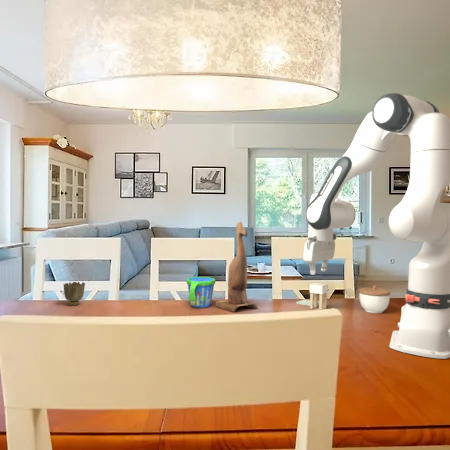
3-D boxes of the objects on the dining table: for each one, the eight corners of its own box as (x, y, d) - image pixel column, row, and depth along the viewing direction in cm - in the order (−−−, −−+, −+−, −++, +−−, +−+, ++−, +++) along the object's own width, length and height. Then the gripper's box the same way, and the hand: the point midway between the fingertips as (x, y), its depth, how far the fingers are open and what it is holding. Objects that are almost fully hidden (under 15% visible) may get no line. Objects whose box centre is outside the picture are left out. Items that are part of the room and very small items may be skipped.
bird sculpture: (235, 314, 148) (240, 222, 146) (214, 307, 156) (218, 220, 155) (258, 310, 155) (263, 222, 153) (236, 303, 164) (240, 220, 162)
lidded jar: (392, 315, 149) (392, 289, 148) (360, 313, 151) (360, 287, 151) (386, 309, 159) (387, 284, 159) (357, 307, 161) (357, 282, 161)
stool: (321, 310, 154) (322, 286, 154) (309, 308, 157) (309, 284, 157) (327, 308, 158) (327, 284, 158) (314, 306, 161) (315, 282, 161)
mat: (312, 306, 161) (313, 304, 161) (296, 303, 165) (296, 302, 165) (320, 303, 167) (320, 301, 167) (304, 300, 171) (304, 299, 171)
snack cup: (202, 312, 149) (202, 283, 148) (176, 308, 153) (177, 280, 153) (222, 303, 162) (223, 277, 162) (198, 300, 167) (199, 274, 167)
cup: (58, 305, 154) (58, 283, 153) (73, 301, 160) (73, 280, 160) (75, 308, 151) (75, 285, 150) (89, 303, 158) (89, 282, 157)
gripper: (316, 237, 147) (314, 277, 147) (338, 234, 163) (336, 270, 164) (299, 236, 150) (298, 275, 151) (322, 233, 167) (321, 268, 168)
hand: (318, 272), depth 158 cm, fingers open, 8 cm apart
